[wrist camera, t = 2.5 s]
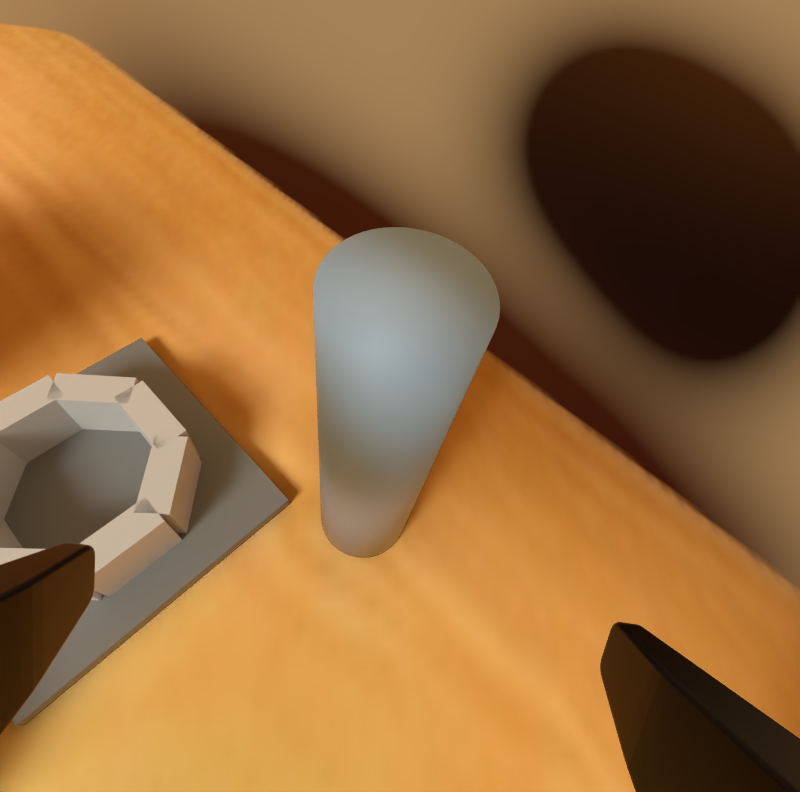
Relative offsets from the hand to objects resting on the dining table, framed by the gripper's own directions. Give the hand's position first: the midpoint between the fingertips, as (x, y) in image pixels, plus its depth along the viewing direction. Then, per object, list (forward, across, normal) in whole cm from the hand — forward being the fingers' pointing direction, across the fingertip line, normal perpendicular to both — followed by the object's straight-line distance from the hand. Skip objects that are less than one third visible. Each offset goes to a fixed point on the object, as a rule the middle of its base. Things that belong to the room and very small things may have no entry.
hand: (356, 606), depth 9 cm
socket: (+12, +11, +5) cm, 17 cm away
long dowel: (+12, 0, +5) cm, 13 cm away
